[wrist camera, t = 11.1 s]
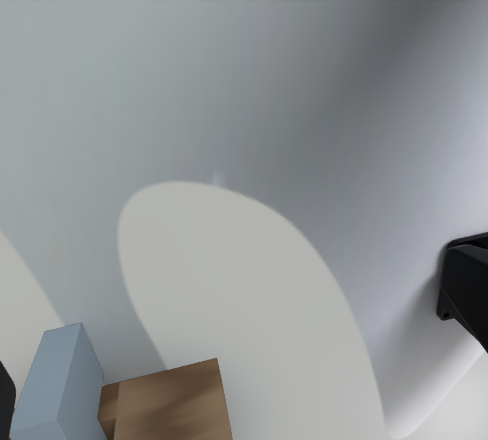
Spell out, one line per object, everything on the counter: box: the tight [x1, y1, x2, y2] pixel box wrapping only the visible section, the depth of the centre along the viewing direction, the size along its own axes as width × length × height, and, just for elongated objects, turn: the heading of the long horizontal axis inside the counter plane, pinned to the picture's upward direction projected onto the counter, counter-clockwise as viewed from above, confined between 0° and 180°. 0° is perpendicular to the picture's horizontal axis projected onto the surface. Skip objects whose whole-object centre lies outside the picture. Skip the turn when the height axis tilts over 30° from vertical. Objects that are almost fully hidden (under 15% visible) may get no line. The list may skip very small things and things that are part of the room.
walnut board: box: [9, 358, 232, 440], centre depth 22 cm, size 16×2×5 cm, turn 97°
